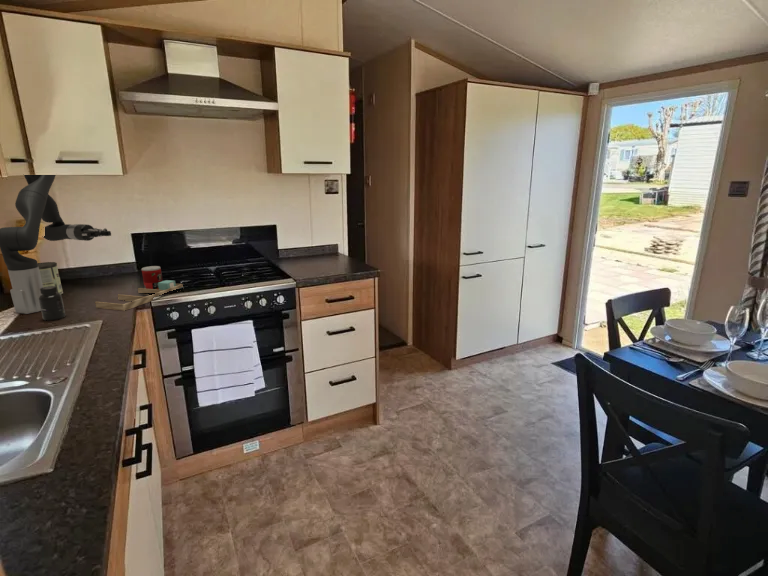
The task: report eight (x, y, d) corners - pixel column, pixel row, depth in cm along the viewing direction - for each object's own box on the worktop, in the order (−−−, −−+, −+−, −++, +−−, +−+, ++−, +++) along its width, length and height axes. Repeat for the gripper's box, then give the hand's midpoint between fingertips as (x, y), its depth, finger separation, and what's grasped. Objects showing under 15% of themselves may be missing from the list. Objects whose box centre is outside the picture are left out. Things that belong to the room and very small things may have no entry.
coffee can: (33, 294, 189) (25, 264, 185) (61, 290, 196) (54, 261, 192) (36, 299, 182) (28, 268, 178) (65, 294, 189) (58, 264, 185)
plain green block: (168, 294, 189) (167, 283, 188) (159, 293, 190) (157, 282, 189) (176, 291, 194) (175, 280, 192) (167, 290, 195) (166, 280, 194)
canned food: (156, 293, 190) (152, 270, 187) (141, 292, 191) (137, 269, 188) (167, 289, 197) (164, 266, 194) (153, 288, 198) (149, 265, 196)
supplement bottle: (39, 321, 154) (32, 290, 151) (48, 316, 161) (41, 286, 157) (61, 320, 156) (54, 289, 153) (69, 314, 162) (62, 284, 159)
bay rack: (124, 310, 166) (123, 304, 166) (96, 307, 170) (95, 301, 169) (183, 289, 196) (182, 284, 196) (157, 287, 200) (157, 282, 199)
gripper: (65, 226, 190) (95, 227, 185) (92, 222, 202) (120, 223, 197) (68, 242, 192) (98, 243, 187) (95, 238, 204) (123, 239, 199)
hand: (109, 233), depth 192 cm, fingers closed
